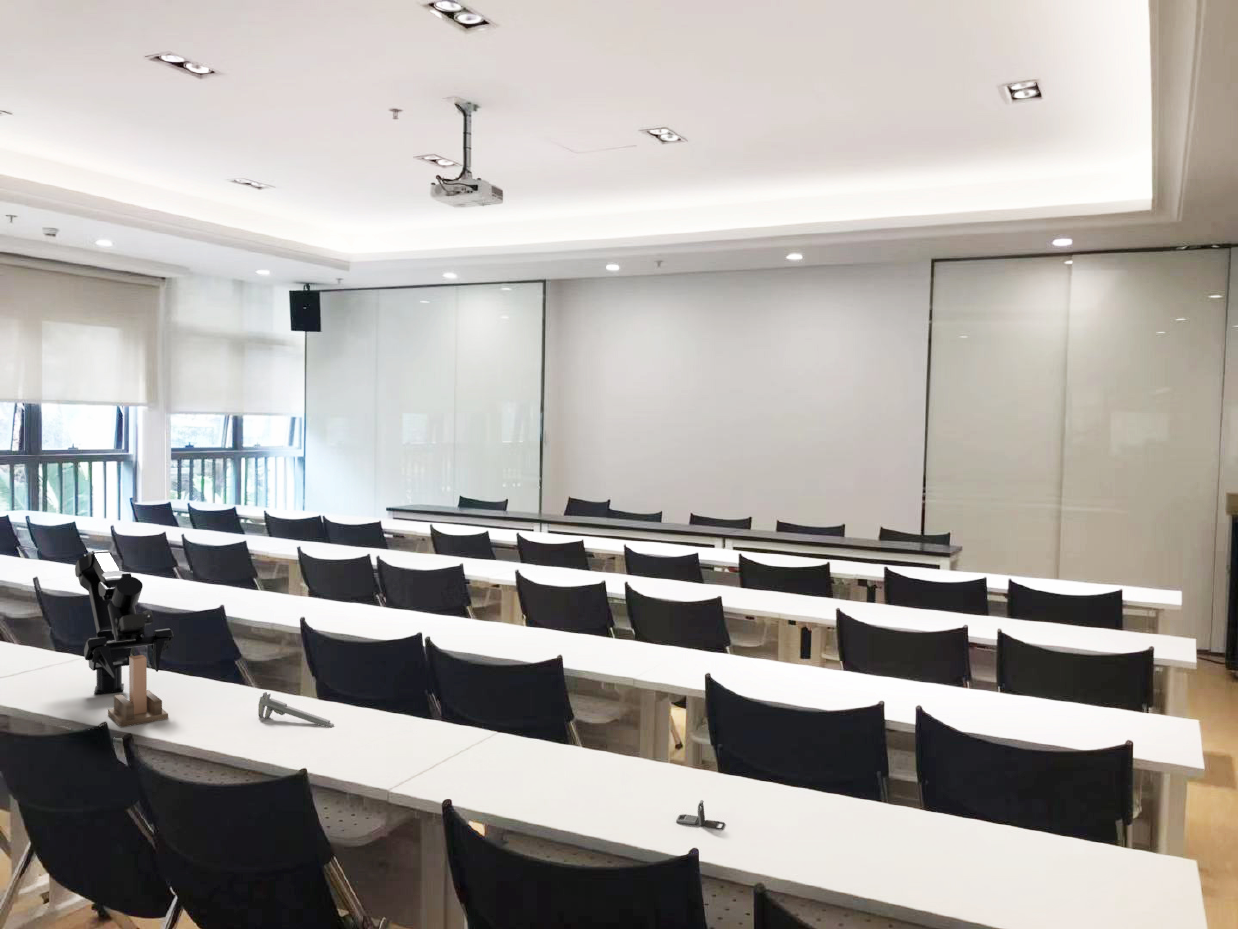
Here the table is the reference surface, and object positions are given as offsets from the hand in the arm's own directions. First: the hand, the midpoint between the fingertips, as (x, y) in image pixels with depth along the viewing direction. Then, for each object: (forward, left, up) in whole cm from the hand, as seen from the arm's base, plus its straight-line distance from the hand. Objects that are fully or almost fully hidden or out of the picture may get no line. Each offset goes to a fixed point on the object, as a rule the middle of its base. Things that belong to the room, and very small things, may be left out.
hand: (136, 674), depth 218 cm
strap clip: (+106, +91, -10) cm, 141 cm away
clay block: (+1, 0, -9) cm, 9 cm away
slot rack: (+1, 0, -10) cm, 10 cm away
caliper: (+19, +34, -10) cm, 40 cm away
